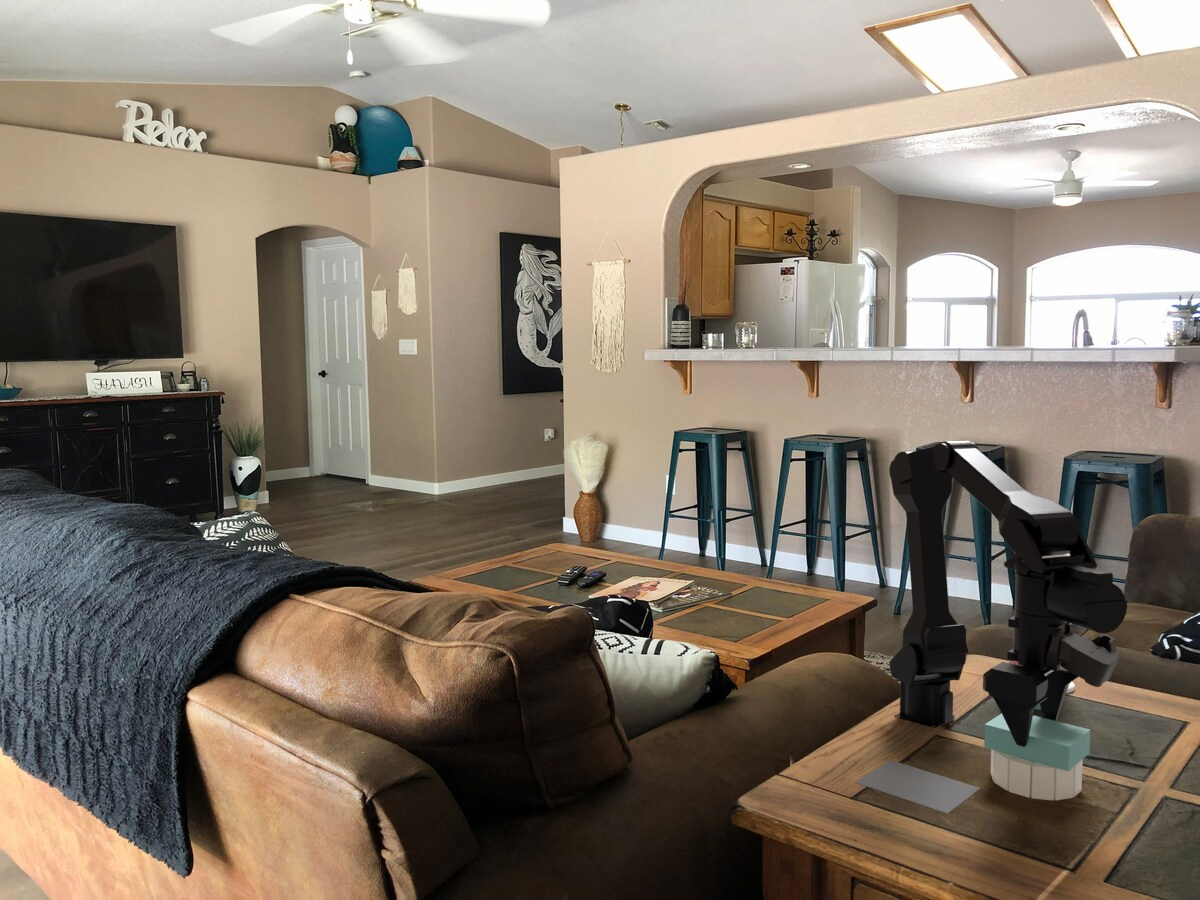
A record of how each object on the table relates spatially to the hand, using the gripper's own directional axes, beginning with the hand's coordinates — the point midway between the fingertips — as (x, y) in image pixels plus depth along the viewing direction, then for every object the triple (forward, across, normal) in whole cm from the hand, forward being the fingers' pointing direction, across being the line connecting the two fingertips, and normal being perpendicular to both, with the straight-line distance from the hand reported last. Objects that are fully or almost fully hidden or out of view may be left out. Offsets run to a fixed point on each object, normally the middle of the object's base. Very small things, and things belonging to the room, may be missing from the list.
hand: (1036, 734), depth 118 cm
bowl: (+6, 0, 0) cm, 6 cm away
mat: (+6, -11, +10) cm, 16 cm away
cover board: (+2, 0, 0) cm, 2 cm away
